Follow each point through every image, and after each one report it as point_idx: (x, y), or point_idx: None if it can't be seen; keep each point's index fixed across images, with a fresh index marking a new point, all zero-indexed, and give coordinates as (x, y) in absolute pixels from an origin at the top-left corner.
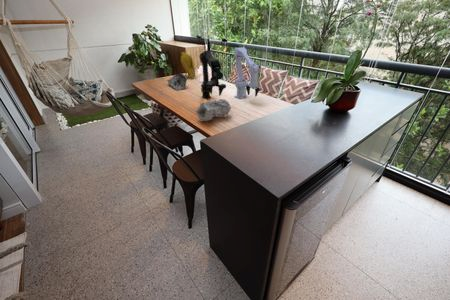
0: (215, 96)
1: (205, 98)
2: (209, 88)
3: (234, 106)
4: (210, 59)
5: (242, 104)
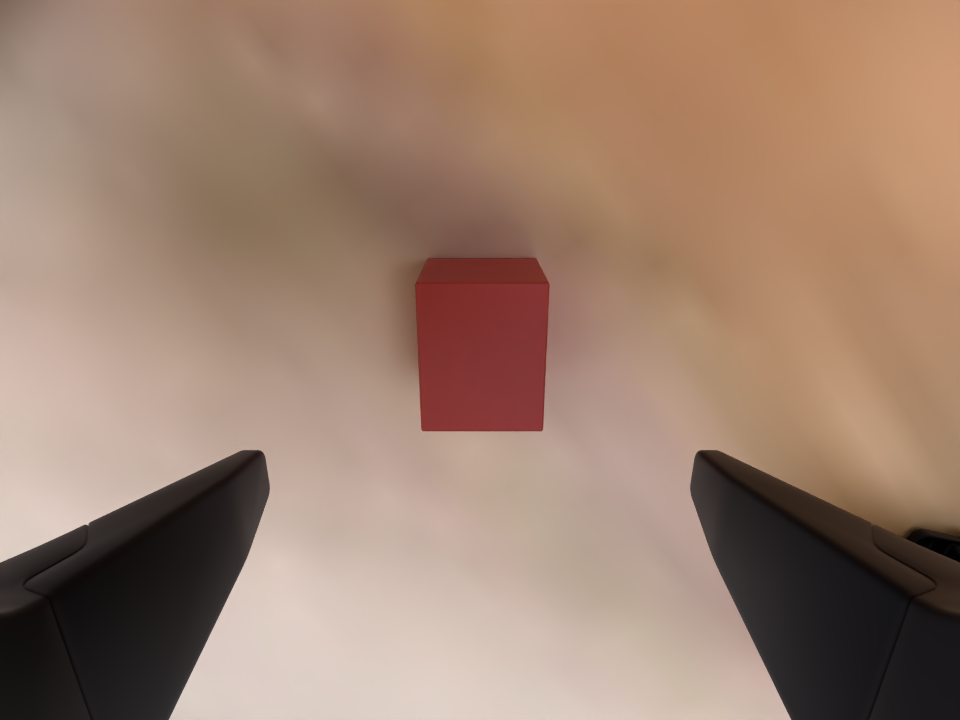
0: None
1: (928, 533)
2: (941, 600)
3: None
4: None
5: None
